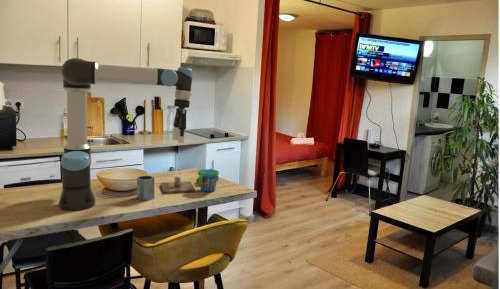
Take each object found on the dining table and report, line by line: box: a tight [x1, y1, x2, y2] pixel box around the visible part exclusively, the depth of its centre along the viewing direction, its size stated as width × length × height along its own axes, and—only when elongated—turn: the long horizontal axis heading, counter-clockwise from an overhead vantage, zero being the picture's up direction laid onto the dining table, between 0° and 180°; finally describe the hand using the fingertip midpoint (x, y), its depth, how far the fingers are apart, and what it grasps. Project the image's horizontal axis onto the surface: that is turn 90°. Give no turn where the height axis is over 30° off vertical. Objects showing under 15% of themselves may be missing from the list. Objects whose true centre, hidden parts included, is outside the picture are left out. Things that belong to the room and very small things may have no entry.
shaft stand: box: [160, 175, 196, 195], centre depth 216 cm, size 16×16×6 cm
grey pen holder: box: [136, 175, 155, 201], centre depth 198 cm, size 8×8×10 cm
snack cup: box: [197, 168, 220, 193], centre depth 214 cm, size 16×10×10 cm
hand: (177, 141), depth 207 cm, fingers open, 13 cm apart
